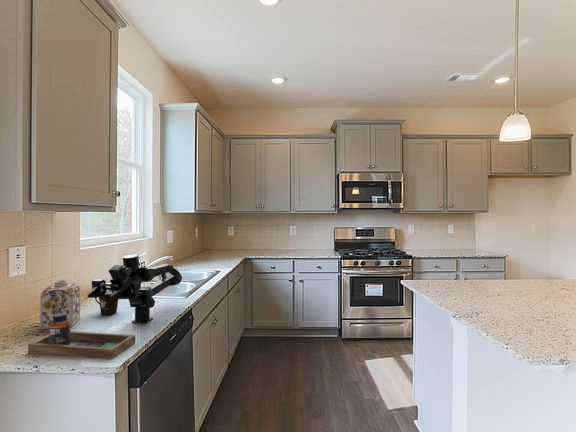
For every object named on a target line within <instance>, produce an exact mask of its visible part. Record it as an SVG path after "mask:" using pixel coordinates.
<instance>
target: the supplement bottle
mask: <svg viewBox="0 0 576 432" xmlns="http://www.w3.org/2000/svg"><path fill="white" fill-rule="evenodd" d="M70 331H71V327H70V320H69V319H67V314H66V313H58V314H55V315H53V321H52V322H51V323H50V329H49V335H50V344H58V345H71V341H70Z"/></svg>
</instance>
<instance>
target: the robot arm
mask: <svg viewBox="0 0 576 432" xmlns="http://www.w3.org/2000/svg"><path fill="white" fill-rule="evenodd" d="M139 258H140V257H139V254H138V253H134V254H130V255H129V254H127V255H123V256H122V265H121V264H115V265H113V266H111V268H110V269H109V270H108V273H109V275H110V277H111V278H110V279H109V283H107V282H106V281H107V280H105V279H101V278H99V279H98V278H96V279H93V280H91V290H90V292H89V293H88V294H87V298H89V299H91V298H95V297H96V298H99V297H102V296H104V295H105V294H106V292H107V291H106V290H111V291H112V295H111V296H110V299H118V300H128V302H129V305H130V308H134V319H133V320H131V323H132V324H135V323H136V324H147V323H149V322H150V321H151V320H154V317H151V314H150V313H151V309H152V308H154V307H155V304H156V300H155V299H154V298H153V297H154V296H156V295H157V294H159V293H161V292H162V291H163V290H165V289H166V288H167V289H168V287H172V286H177V285H179V284H180V283H181V282H182V280H183V277H182V274H181V273H180V271H179V270H178V269H177V268H175V267H174V265H172V264H170V263H162V264H159V265H156V266H152V267H149V268H148V267H146V266H140V262H139ZM157 276H160V277H161V279H159V280H158V281H156V282H154V283H152V284H150V285H148V286H142V283H143V282H145V283H146V282H148V283H149V282H151V281H152V280H154V278H155V277H157Z"/></svg>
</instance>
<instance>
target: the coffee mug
mask: <svg viewBox="0 0 576 432" xmlns="http://www.w3.org/2000/svg"><path fill="white" fill-rule="evenodd" d="M106 291H107V292H106V294H105V295H104V296H102V297H98V299H97V297H94V300H95V301H96V303H97V304H98V305H99V308H100V309H99V310H100V315H101V316H105V317H106V316H113V315H116V314H117V312H118V305H119V299H110V296H111V295H112V291H111V290H106Z"/></svg>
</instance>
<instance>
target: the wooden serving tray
mask: <svg viewBox="0 0 576 432" xmlns="http://www.w3.org/2000/svg"><path fill="white" fill-rule="evenodd" d="M70 342H78V343H75V344H74V345H71V344H70V345H58V344H50V334H48V335H46V336H44V337H41V338H39V339H37V340H35V341H31V342H30V343H28V344H27V354H35V355H49V356H50V355H51V356H61V357H64V356H65V357H74V358H75V357H77V358H78V357H79V358H88V359H89V358H92V359H102V360H103V359H105V360H113V359H114V358H116V357H117V356H119V355H120V354H122V353H123V352H124V350H125V351H126V350H128V349H129V348H131V347H132V346H133V344H134V343H135V344H136V334H125V333H123V334H122V333H121V334H120V333H103V332H88V331H76V330H75V331H73V330H70ZM135 344H134V345H135ZM130 346H131V347H130ZM127 348H128V349H127Z"/></svg>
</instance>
